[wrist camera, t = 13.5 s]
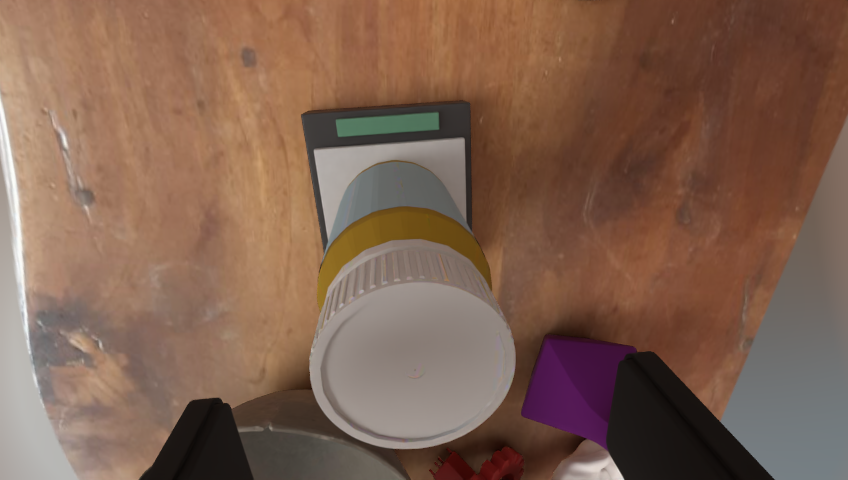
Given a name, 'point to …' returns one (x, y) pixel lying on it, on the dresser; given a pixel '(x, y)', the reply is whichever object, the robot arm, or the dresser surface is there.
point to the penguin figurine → (587, 464)
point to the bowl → (306, 442)
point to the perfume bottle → (574, 385)
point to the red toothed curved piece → (482, 467)
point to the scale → (387, 149)
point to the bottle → (407, 315)
